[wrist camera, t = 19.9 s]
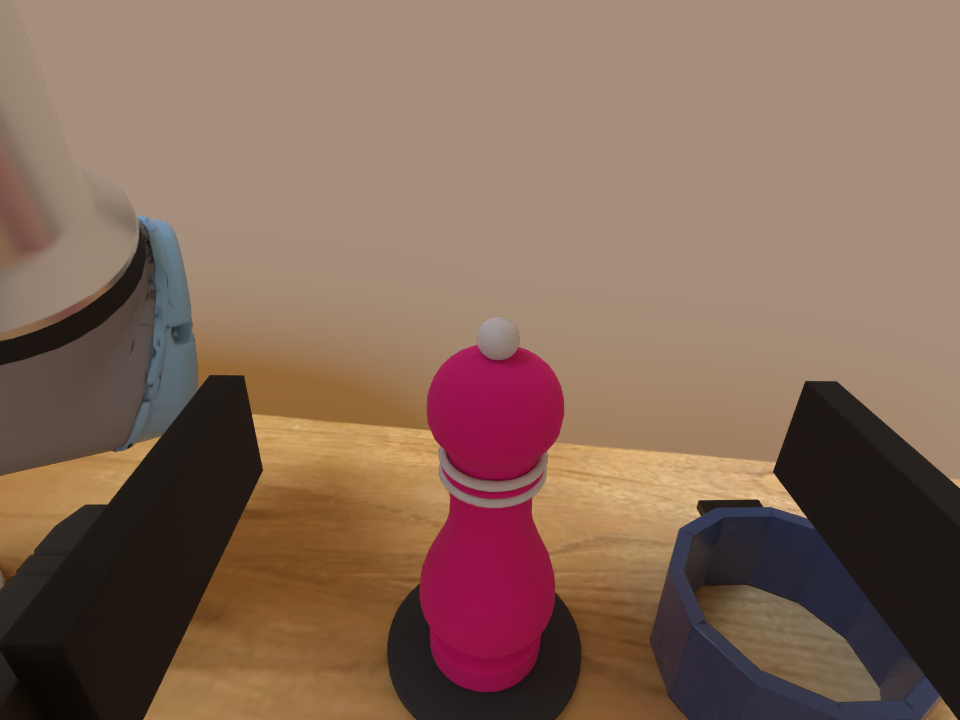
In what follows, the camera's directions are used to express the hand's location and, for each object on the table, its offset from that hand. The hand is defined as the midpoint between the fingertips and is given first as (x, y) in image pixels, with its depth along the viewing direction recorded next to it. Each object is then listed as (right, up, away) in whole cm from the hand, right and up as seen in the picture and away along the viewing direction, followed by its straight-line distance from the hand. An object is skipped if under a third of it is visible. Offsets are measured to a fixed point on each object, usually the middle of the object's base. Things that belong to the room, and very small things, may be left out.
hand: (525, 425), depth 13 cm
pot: (+15, -16, +18) cm, 28 cm away
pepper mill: (-1, -15, +19) cm, 24 cm away
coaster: (-1, -15, +19) cm, 24 cm away
